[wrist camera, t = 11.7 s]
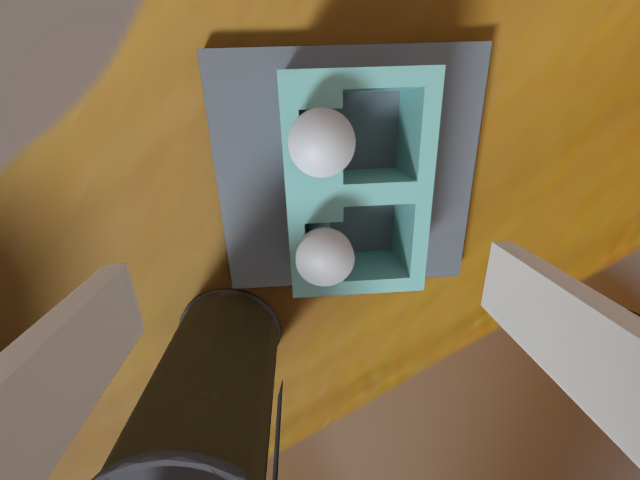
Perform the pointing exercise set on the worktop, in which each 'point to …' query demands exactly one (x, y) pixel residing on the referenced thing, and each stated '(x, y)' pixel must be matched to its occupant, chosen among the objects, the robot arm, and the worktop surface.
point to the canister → (207, 398)
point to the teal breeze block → (367, 174)
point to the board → (374, 148)
